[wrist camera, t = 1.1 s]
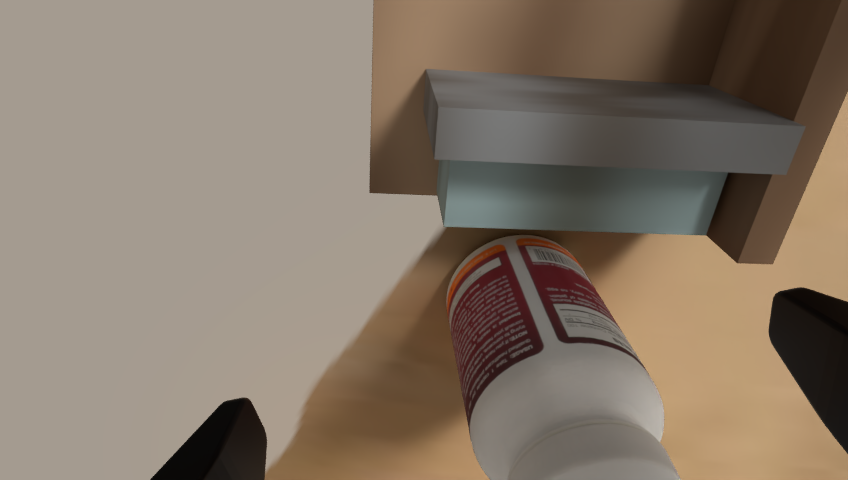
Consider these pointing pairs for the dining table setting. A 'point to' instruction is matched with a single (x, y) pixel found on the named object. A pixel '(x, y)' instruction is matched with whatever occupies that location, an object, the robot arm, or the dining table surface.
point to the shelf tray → (608, 112)
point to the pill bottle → (549, 370)
